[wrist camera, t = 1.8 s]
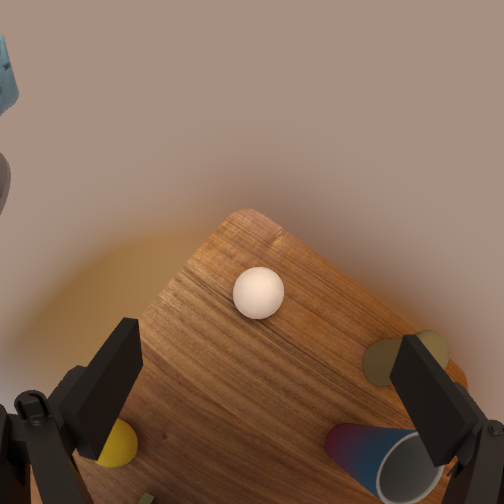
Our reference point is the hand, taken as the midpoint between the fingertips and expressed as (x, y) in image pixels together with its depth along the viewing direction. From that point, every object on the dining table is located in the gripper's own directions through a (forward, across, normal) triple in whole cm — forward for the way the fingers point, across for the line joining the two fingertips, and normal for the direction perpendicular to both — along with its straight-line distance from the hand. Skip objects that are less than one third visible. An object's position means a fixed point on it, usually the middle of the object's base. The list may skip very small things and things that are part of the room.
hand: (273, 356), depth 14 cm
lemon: (+9, -14, -21) cm, 27 cm away
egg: (+21, 0, -7) cm, 23 cm away
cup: (+11, +11, -21) cm, 26 cm away
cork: (+18, +16, -13) cm, 27 cm away
